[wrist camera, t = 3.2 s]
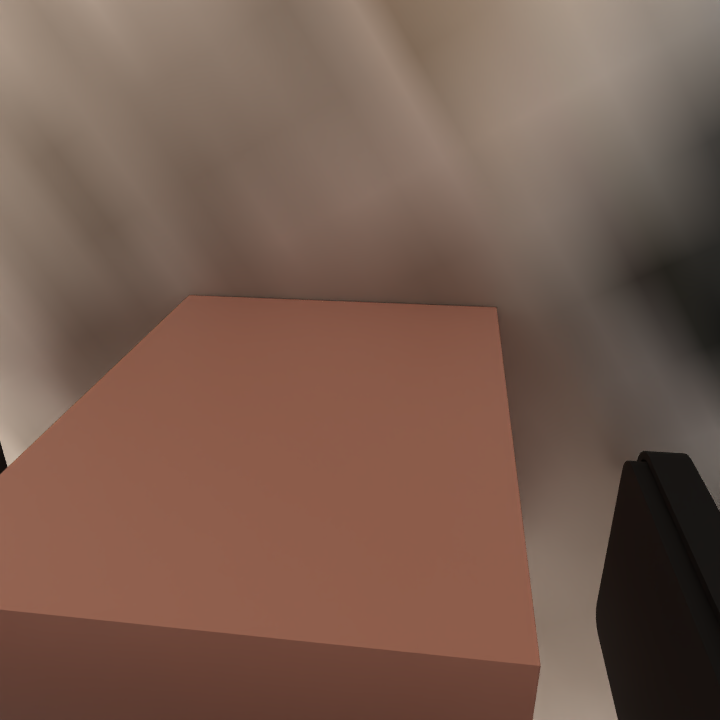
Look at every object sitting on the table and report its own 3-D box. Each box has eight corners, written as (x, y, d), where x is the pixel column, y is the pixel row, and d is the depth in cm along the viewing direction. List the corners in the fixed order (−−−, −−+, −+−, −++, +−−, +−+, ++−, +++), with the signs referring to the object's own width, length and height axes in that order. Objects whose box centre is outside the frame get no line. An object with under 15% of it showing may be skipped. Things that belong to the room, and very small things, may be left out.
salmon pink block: (496, 307, 11) (539, 665, 5) (475, 556, 13) (487, 1022, 7) (188, 294, 12) (-129, 596, 5) (218, 534, 14) (19, 942, 8)
